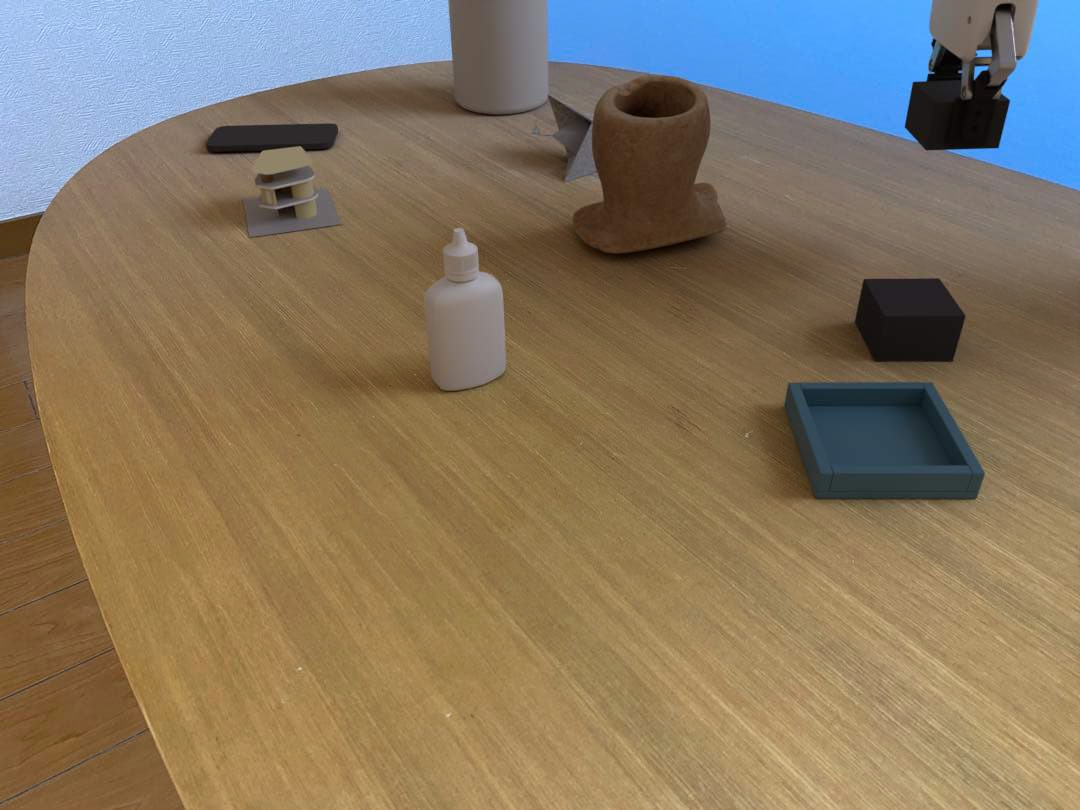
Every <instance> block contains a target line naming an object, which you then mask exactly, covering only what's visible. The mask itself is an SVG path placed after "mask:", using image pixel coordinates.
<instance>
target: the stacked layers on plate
mask: <svg viewBox="0 0 1080 810" xmlns="http://www.w3.org/2000/svg"><path fill="white" fill-rule="evenodd" d="M313 162H314V161H313V159H312V157H311V156H310V155H309V154H308V152H306V150H305V149H303V148H302V147H301V146H298V147H290V148H282V149H273V150H261V152H260V154H259V155H258V156H257V158H256V160H255V162H254V164H253V165H252V166H251V169H252V170H251V171H252V173H254V174H257V175H256V177H255V178H254V183H255V188H257V189H259V190H260V195H259V196H258V197H249V198H243V199H242V203H243V207H244V214H245V218H246V225H247V231H248V238H254V237H262V236H269V235H276V234H283V233H290V232H291V233H292V232H298V231H304V230H312V229H319V228H325V227H332V226H333V227H334V226H340V225H342V223H341V220H340V217H339V214H338V212H337V210H336V206H335V203H334V201H333V199H332V196H331V193H330V191H329V188H327V187H326V188H325V187H324V188H318V189H316V187H315V186H314V184H313V180H314V178H316V173H315V171H314V170H313V168H311V166H310V165H312V164H313Z"/></svg>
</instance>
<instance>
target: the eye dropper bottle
mask: <svg viewBox="0 0 1080 810" xmlns="http://www.w3.org/2000/svg"><path fill="white" fill-rule="evenodd" d="M442 256H443V269H444V276H443V277H441V278H440V279H438V280H437V281H435V282H434V283H432V285H430V286H429V287H428V288H427V290H426V291H425V293H424V295H423V296H424V297H423V302H424V303H423V304H424V315H425V327H426V328H425V329H426V337H427V347H428V358H429V359H428V360H429V368H430V376H431V379H432V381H434V383H435V384H436V385H437V387H439V388H440V389H441V391H442V390H443V391H445V392H455V391H463V390H469V389H473V388H477V387H480V386H483V385H486V384H489V383H490V382H492V381H494V380H496V379H498V378H499V377H501V376H502V375H503V374H504V373H505V371H506V369H507V351H506V330H505V328H506V327H505V307H504V306H505V305H504V293H503V287H502V284H501V282H500V281H499V280H498V279H497V278H496V277H494V275H492V274H490V273H489V272H486V271H480V264H479V263H480V262H479V249H478V246H477V245H476V244H475V243H472V242H470V241H468V239H467V236H466V232H465V229H464V228H462V227H456V228H454V229H453V234H452V241H451V242H450V243H448V244H446V245H445V246H444V247H443V249H442Z"/></svg>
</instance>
